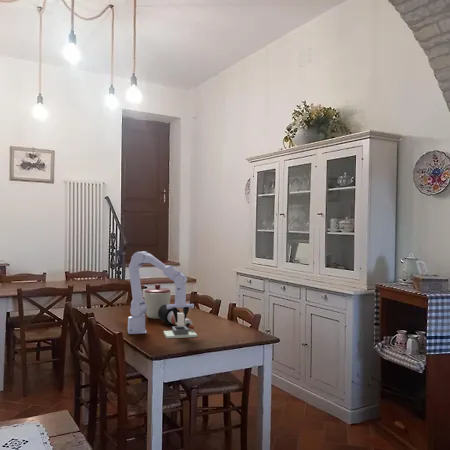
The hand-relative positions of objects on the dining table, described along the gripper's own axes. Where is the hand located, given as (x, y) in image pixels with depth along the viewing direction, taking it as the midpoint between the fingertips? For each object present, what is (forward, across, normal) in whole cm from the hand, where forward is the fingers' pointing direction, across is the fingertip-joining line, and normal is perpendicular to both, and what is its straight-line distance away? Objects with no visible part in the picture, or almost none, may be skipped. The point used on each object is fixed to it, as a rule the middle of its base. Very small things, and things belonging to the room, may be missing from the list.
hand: (180, 321), depth 253 cm
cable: (+7, +2, +18) cm, 19 cm away
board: (+7, 0, 0) cm, 7 cm away
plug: (+2, 0, 0) cm, 2 cm away
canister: (+7, -6, +50) cm, 51 cm away
